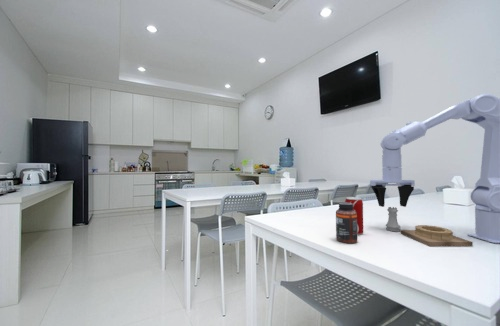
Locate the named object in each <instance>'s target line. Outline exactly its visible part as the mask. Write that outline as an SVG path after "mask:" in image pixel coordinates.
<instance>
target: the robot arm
mask: <svg viewBox="0 0 500 326" xmlns="http://www.w3.org/2000/svg"><path fill="white" fill-rule="evenodd" d="M460 119H461V120H464V121H467V122H469V123H473V124H476V125H478V126H480V127H482V128H483V129H484V134H483V135H484V136H483V147H482V156H481V167H480V176H479V177H480V178H479V179H478V180H477V181H476V182H475V183H474V184H475V186H474V189H473V190H472V191H471V193H470V200H471V202H473V204H474V205H475V206H474V218H475V219H474V222H475V223H474V224H475V225H474V227H475V233H467V236H470V237H472V238H476V239H479V240H482V241H485V242H489V243H492V244H500V98H499V97H498V96H497V95H494V94H491V93H481V94H478V95H476V96H475V97H474V98H469V99H466V100H463V101H461V102H459V103H457V104H454V105H452V106H450V107H448V108H446V109H444V110H442V111H441V112H438V113H437V114H434V115H432V116H431V117H429V118H426V120H423V121H418V120H417V121H416V120H415V121H413V122H412V121H409V122H406V125H405V126H403V127H401V128H399V129H394V130H392V132H389V134H387V135H386V136H384V137H383V138H382V139H381V142H380V147H381V148H382V155H381V159H382V161H381V163H382V170H381V172H382V179H370V180H369V186H371V190H372V191H373V193H374V194H375V196H376V199H377V203H378V206H379V207H381V208H383V207H385V200H386V199H385V196H386V190H387V188H386V186H387V187H388V186H392V187H395V186H397V190H398V194H399V206H400V207H404V208H406V207H407V204H408V202H409V198H410V196H411V194H412V193H413V191H414V190H415V186H416V185H415V180H412V179H403V178H402V177H403V174H402V173H403V172H402V171H403V170H402V169H403V168H402V153H401V152H402V149H401V148H402V147H403V146H405V145H408V144H410V143H412V142H414V141H416V140H418V139H421V138H422V137H425V135H426V133H427V130H429V129H432V128H435V127H436V126H439V125H440V124H442V123H445V122H447V121H449V120H460Z"/></svg>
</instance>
